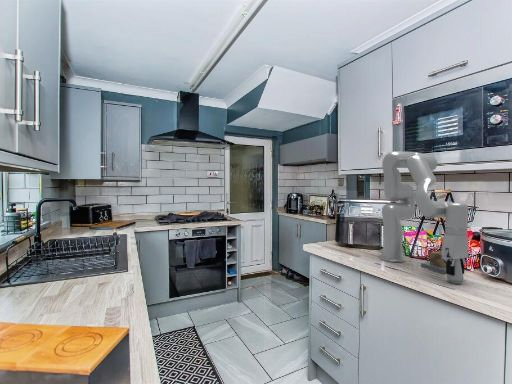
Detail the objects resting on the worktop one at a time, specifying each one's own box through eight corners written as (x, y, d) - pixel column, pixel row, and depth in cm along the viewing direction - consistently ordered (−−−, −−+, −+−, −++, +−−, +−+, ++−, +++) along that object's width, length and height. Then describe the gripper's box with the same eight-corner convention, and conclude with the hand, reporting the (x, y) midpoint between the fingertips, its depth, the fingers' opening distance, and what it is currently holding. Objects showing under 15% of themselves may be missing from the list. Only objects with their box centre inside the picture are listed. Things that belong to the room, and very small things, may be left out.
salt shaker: (443, 281, 116) (444, 251, 115) (452, 279, 118) (452, 250, 117) (457, 286, 110) (458, 254, 110) (466, 284, 112) (467, 253, 112)
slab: (420, 266, 136) (420, 263, 136) (437, 264, 140) (437, 260, 140) (444, 274, 124) (444, 270, 124) (462, 271, 128) (462, 267, 128)
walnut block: (429, 264, 134) (430, 252, 134) (439, 262, 136) (439, 251, 136) (442, 267, 128) (442, 255, 128) (452, 266, 130) (452, 254, 130)
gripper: (460, 229, 120) (459, 269, 120) (433, 231, 114) (432, 273, 115) (479, 232, 113) (478, 274, 113) (450, 234, 107) (449, 279, 108)
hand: (455, 273), depth 114 cm, fingers open, 5 cm apart
